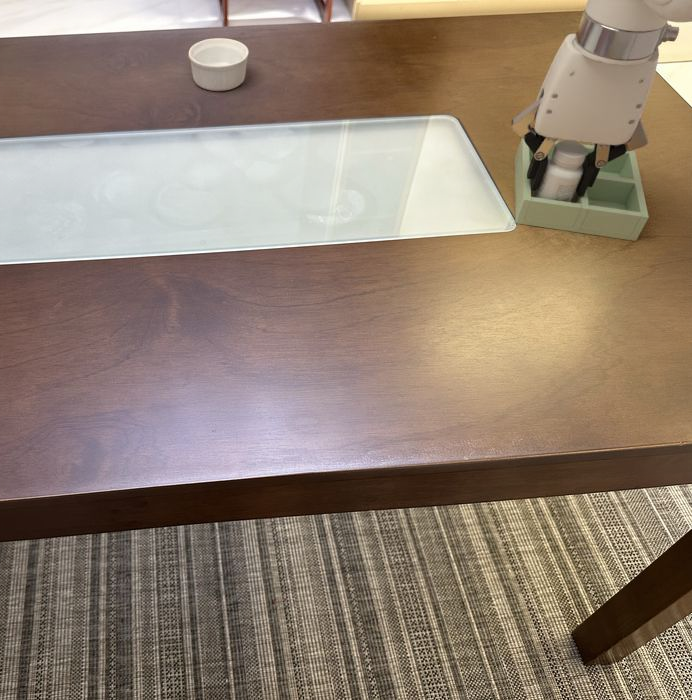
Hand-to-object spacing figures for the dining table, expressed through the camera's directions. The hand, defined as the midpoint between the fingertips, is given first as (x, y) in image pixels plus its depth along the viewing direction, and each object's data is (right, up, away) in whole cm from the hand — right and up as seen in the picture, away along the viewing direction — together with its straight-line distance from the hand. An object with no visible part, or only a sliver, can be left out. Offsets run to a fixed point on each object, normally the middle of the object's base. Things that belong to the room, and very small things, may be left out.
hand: (556, 185), depth 85 cm
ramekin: (-40, +22, +24) cm, 52 cm away
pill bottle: (0, -2, +2) cm, 3 cm away
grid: (+4, -1, +4) cm, 6 cm away
